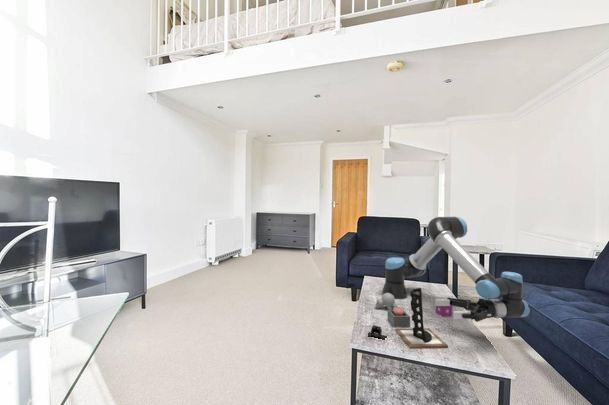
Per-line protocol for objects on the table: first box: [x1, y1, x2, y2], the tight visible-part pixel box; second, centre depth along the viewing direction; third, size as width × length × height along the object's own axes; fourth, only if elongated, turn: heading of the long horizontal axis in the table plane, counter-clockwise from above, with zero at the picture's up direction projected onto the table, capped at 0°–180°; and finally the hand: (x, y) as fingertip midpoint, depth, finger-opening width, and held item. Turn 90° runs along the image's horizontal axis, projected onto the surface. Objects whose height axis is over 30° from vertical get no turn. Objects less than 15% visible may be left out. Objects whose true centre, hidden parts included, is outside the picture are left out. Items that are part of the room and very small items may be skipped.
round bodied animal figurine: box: [373, 293, 398, 311], centre depth 149 cm, size 7×12×8 cm, turn 82°
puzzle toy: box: [435, 305, 453, 318], centre depth 142 cm, size 6×6×6 cm
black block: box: [368, 324, 388, 340], centre depth 118 cm, size 12×7×5 cm, turn 65°
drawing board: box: [395, 327, 449, 349], centre depth 116 cm, size 15×16×1 cm
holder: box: [409, 287, 432, 343], centre depth 116 cm, size 11×8×20 cm
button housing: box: [387, 309, 411, 328], centre depth 131 cm, size 8×8×5 cm
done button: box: [392, 306, 405, 316], centre depth 131 cm, size 5×5×3 cm
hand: (444, 308), depth 116 cm, fingers open, 13 cm apart
